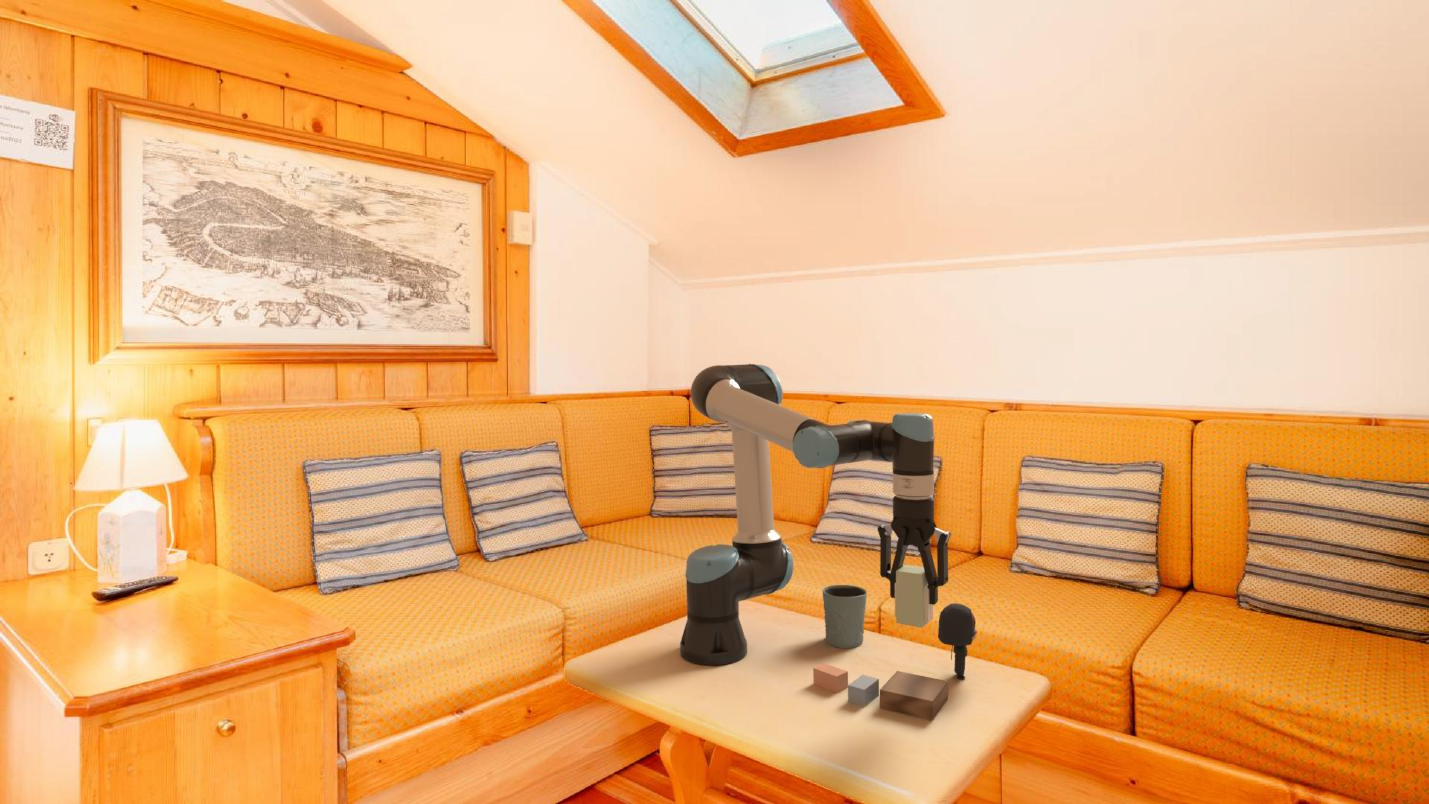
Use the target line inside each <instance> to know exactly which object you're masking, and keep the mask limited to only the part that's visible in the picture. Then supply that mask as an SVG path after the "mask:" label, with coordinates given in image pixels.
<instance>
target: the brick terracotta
mask: <svg viewBox="0 0 1429 804" xmlns="http://www.w3.org/2000/svg"><path fill="white" fill-rule="evenodd" d="M812 669H813V674H812V675H813V685H815V686H818V687H821V688H823V689H825V690H828V691H830V692H834V693H837V694H839V693H841V692H842V691H844V690H846V689H848V685H849V671H847V670H845V669H843V668H839V667H836V666H833V665H832V664H831V665H830V664H828V663H825V662H823V663H821V664H820V665H817V666H814V667H813V668H812Z"/></svg>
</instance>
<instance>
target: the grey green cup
mask: <svg viewBox="0 0 1429 804" xmlns="http://www.w3.org/2000/svg"><path fill="white" fill-rule="evenodd" d="M821 590H822V601H823V609H824V610H823V611H824V623H825V624H824V625H825V626H824V628H825V630H824V631H825V641H826V642H825V643H826V644H828V645H830V646H832V647H834V648H841V649H852V648H858V647H860V646H862V645H863V643H864V633H865V631H864V630H865V619H866V618H865V617H866V604H867V597H868V591H867V590H866V589H865V588H863V587H862V586H861V587H860V586H855V585H851V584H834V585H828V586H826V587H824V588H823V589H821Z"/></svg>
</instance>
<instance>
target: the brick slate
mask: <svg viewBox="0 0 1429 804" xmlns="http://www.w3.org/2000/svg"><path fill="white" fill-rule="evenodd" d="M879 697H880V679H879V678H878V677H877V678H876V677H872V676H868V675H865V674H861V675H860V676H859V677H857V678H856V679H854V680H853V681H852V682H850V683H848V688H847V702H848V703H849V704H853V705H857V706H860V707H863V708H865V707H866V706H867V705H870V704H871V703H872V702H873V701H874V700H875V699H876V698H879Z"/></svg>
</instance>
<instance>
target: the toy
mask: <svg viewBox="0 0 1429 804" xmlns="http://www.w3.org/2000/svg"><path fill="white" fill-rule="evenodd" d="M977 634H978V631H977V630H976V618H975V615H974V613H973V612H972V608H969V607H968V606H967V605H965V604H962V603H949V604H948V605H946V606H945V607H944V608H943V609H942V610H941V611H940V613H939V618H938V632H937V638H938V640H939V641H940V642H941V643H942V644H944V645H948V646H951V652H950V659H951V661H952V660H953V653H954V667H953V669H954V670H953V672H954V674H956V677H957V679H958V680H965V679H966V676H964V674H965V670H966V658H967V657H968V647H967V646H971V645H972V643H973V641H974V640H975V639H976V637H977Z"/></svg>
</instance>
